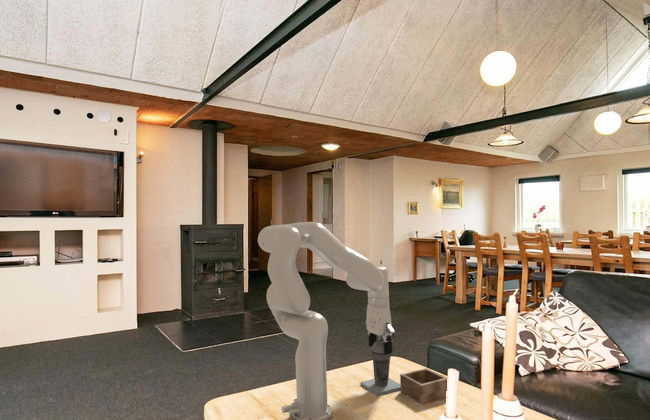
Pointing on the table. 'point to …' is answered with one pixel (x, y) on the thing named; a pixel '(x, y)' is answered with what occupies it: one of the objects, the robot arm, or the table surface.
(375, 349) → the beverage cup
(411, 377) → the box
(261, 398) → the table surface
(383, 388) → the rubber mat
